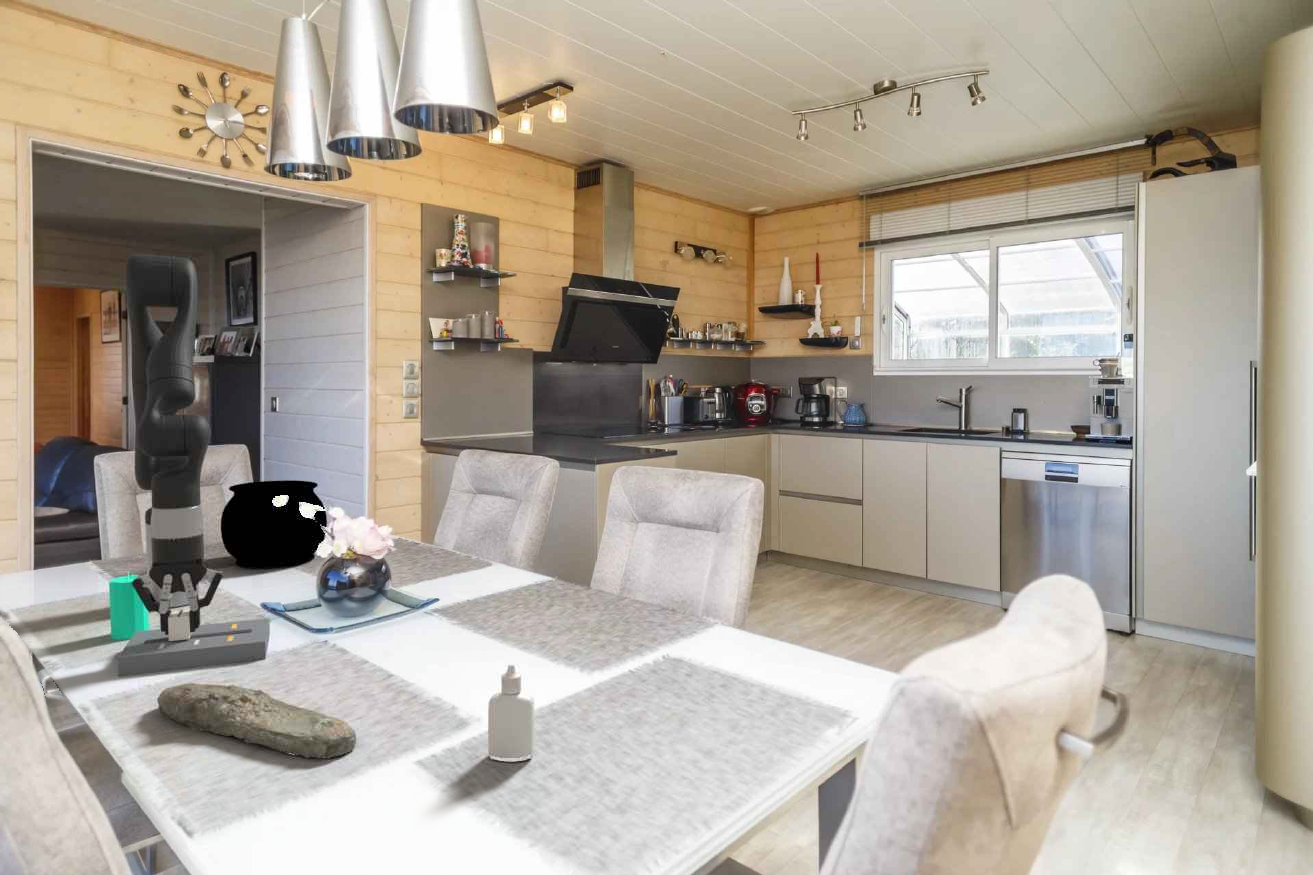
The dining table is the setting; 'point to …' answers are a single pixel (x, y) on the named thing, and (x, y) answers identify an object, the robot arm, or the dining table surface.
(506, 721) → the eye dropper bottle
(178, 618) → the fader
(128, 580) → the candle
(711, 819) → the dining table surface
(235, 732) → the long grey stone
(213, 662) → the fader console
